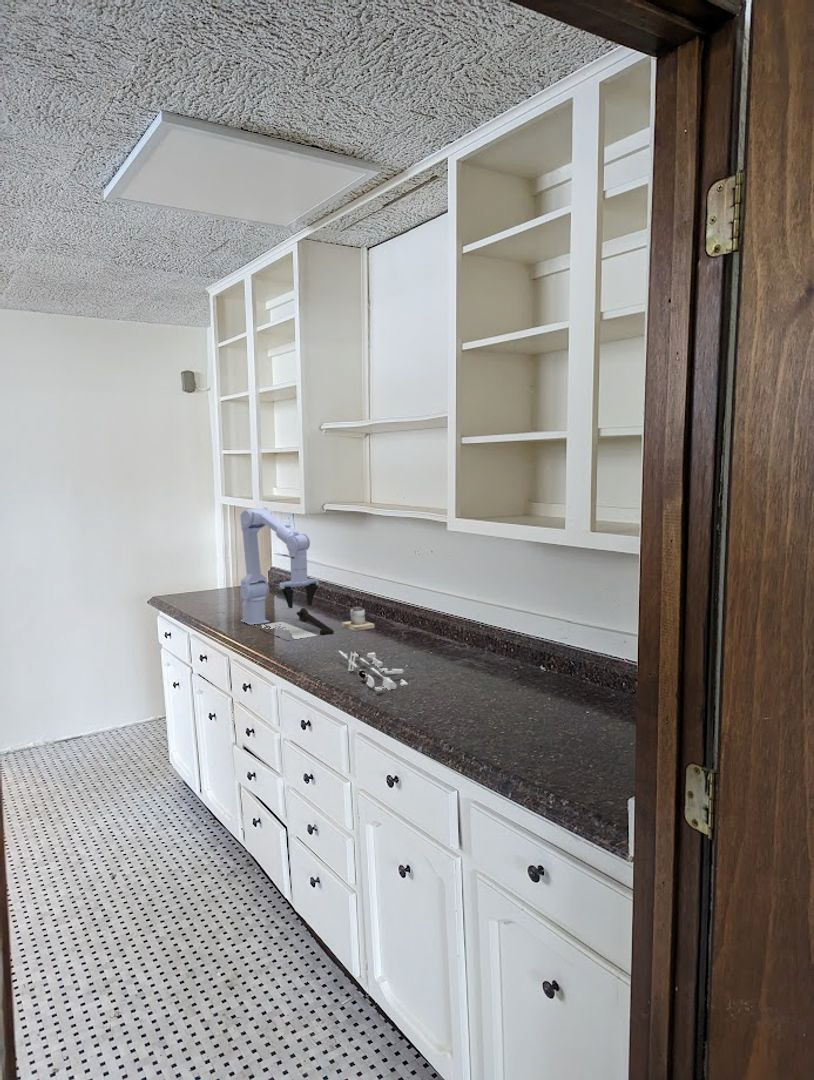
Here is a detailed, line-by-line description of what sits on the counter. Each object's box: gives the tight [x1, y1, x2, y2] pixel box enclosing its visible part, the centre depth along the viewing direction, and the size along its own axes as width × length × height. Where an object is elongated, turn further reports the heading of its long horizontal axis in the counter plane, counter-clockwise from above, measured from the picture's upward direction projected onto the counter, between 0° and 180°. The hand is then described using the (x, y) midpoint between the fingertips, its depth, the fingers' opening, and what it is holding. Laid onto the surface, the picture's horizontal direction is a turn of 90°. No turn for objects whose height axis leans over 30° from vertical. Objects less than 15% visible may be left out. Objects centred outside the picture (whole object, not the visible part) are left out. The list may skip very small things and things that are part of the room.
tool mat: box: [260, 621, 319, 640], centre depth 256 cm, size 28×12×1 cm, turn 37°
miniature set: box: [338, 650, 409, 692], centre depth 202 cm, size 6×35×12 cm
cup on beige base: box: [341, 606, 375, 632], centre depth 260 cm, size 10×8×7 cm
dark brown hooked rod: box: [296, 607, 334, 636], centre depth 263 cm, size 5×5×30 cm
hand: (300, 606), depth 253 cm, fingers open, 7 cm apart
